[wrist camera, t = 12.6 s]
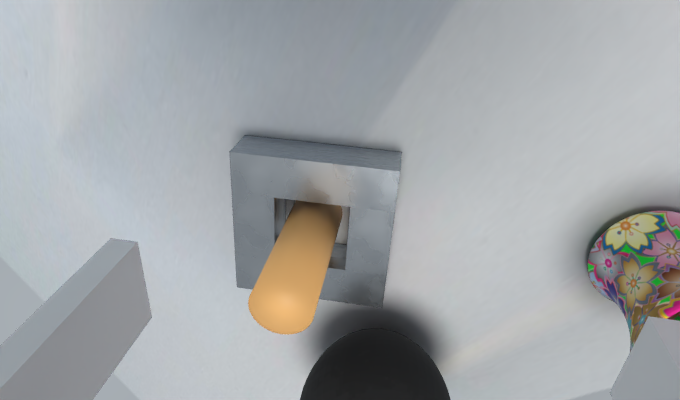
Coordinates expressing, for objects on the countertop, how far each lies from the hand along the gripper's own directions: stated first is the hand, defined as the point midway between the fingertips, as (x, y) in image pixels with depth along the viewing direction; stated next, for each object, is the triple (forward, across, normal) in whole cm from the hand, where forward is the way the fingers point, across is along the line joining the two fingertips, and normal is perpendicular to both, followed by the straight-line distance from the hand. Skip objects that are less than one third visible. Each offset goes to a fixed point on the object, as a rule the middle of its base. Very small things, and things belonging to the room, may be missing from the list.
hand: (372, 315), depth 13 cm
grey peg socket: (+23, -6, -11) cm, 26 cm away
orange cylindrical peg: (+23, -6, -11) cm, 26 cm away
